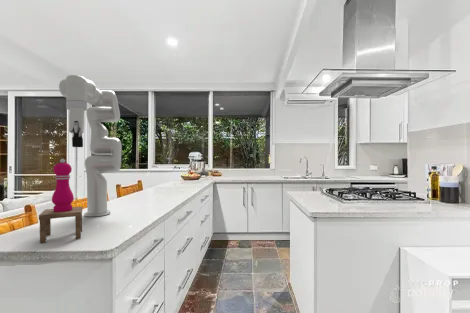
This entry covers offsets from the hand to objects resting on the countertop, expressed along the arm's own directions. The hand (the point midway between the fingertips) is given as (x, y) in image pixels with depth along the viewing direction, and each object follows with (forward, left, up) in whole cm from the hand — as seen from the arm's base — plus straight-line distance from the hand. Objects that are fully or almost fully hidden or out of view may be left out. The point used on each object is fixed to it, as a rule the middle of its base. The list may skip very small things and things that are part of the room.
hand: (77, 147), depth 118 cm
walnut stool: (+8, -5, -35) cm, 36 cm away
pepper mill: (+8, -5, -25) cm, 27 cm away
